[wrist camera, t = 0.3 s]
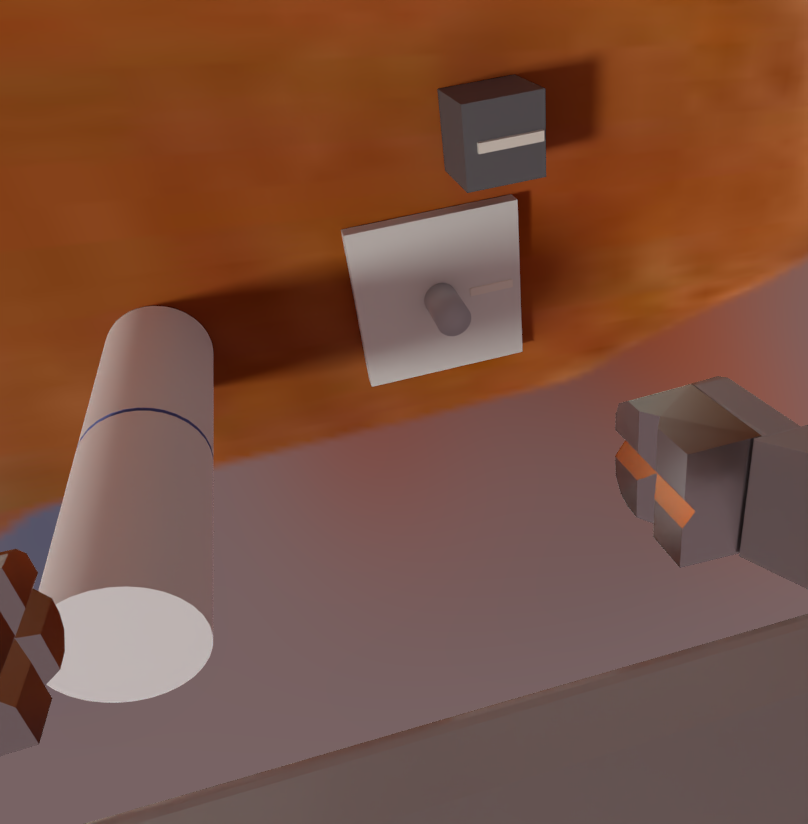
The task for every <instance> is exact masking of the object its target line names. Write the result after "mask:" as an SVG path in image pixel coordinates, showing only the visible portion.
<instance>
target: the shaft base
mask: <svg viewBox="0 0 808 824" xmlns="http://www.w3.org/2000/svg"><path fill="white" fill-rule="evenodd" d="M341 233H342V238H343V244H344V249H345V254H346V259H347V265H348V270H349V275H350V281H351V286H352V291H353V297H354V302H355V307H356V312H357V318H358V323H359V328H360V334H361V339H362V344H363V349H364V355H365V360H366V365H367V371H368V376H369V380H370V383H371V386H372V387H373V386H378V385H382V384H386V383H390V382H395V381H399V380H403V379H407V378H412V377H416V376H420V375H425V374H429V373H433V372H437V371H442V370H446V369H450V368H454V367H459V366H463V365H467V364H472V363H476V362H480V361H484V360H489V359H493V358H497V357H501V356H506V355H510V354H514V353H519V352H522V322H521V291H520V260H519V229H518V200H517V199H516V198H515V197H514V196H513V195H512V194H510V195H506V196H501V197H496V198H491V199H486V200H482V201H477V202H472V203H467V204H462V205H458V206H453V207H448V208H443V209H438V210H434V211H429V212H424V213H419V214H414V215H410V216H405V217H400V218H395V219H390V220H386V221H381V222H376V223H371V224H366V225H361V226H357V227H352V228H347V229H342V230H341Z"/></svg>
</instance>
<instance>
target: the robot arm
mask: <svg viewBox="0 0 808 824" xmlns="http://www.w3.org/2000/svg"><path fill="white" fill-rule="evenodd" d="M615 429H616V431H617V432H618V433H619V434H620V435H621V436H622V437H623V438H624V439H625V442H624V443H623V445H622V446H621V448H620V450H619V451H618V452H617V454H616V456H615V465H616V478H617V482H618V485H619V489H620V492H621V494H622V497H623V499H624V500H625V502H626V504H627V506H628V507H629V509H630V510H631V511H632V512H633V513H634V515H635V516H636V517H638V518H640V519H643V520H645V521H648V522H651V523H653V524H654V530H653V537H654V538H655V540H656V541H657V542H658V543H659V544H660V545H661V547H662V548H663V549H664V550H665V551H666V552H667V553H668V555H669V556H670V557H671V558H672V559H673V560H674V562H675V563H676V564H677V565H678V566H679V567H680V568H681V567H685V566H689V565H694V564H697V563H702V562H706V561H710V560H713V559H718V558H722V557H726V556H730V555H734V554H738V553H740V554H739V556H740V557H742V558H744V559H746V560H748V561H750V562H752V563H755V564H757V565H759V566H761V567H763V568H765V569H767V570H769V571H771V572H773V573H775V574H777V575H779V576H781V577H783V578H786V579H788V580H790V581H792V582H794V583H796V584H798V585H800V586H802V587H804V588H806V589H808V425H806V426H802V427H801V426H799V425H798V424H796V423H795V422H793V421H792V420H790V419H789V418H787V417H786V416H784V415H783V414H781V413H780V412H778V411H776V410H775V409H774V408H772V407H771V406H769V405H768V404H766V403H765V402H763V401H762V400H760V399H758V398H757V397H756V396H754V395H753V394H751V393H750V392H748V391H747V390H745V389H744V388H742V387H741V386H739V385H738V384H736V383H735V382H733V381H732V380H730V379H729V378H726V377H719V376H717V377H713V378H710V379H706V380H703V381H699V382H695V383H692V384H688V385H685V386H683V387H679V388H675V389H671V390H668V391H664V392H660V393H657V394H653V395H649V396H646V397H641V398H638V399H634V400H630V401H626V402H623V403H619V405H618V408H617V412H616V425H615ZM37 574H38V572H37V570H36V569H35V567H34V565H33V563H32V562H31V560H30V558H29V557H28V555H27V553H25V552H22V551H20V550H18V549H13V550H9V551H5V552H0V756H2V755H5V754H9V753H12V752H15V751H18V750H22V749H25V748H28V747H32V746H35V745H38V744H39V743H40V739H41V736H42V732H43V729H44V725H45V722H46V718H47V715H48V711H49V708H50V704H51V701H52V697H51V695H50V694H49V692H48V690H47V689H46V687H45V685H46V684H47V683H48V682H49V681H50V680H51V679H52V678H53V677H54V676H55V675H56V674H57V673H58V671H59V670H60V669H61V665H62V661H63V657H64V653H65V637H64V627H63V623H62V620H61V616H60V613H59V611H58V609H57V607H56V605H55V603H54V601H53V599H52V598H51V597H49V596H47V595H45V594H43V593H41V592H39V591H37V590H35V589H33V586H34V583H35V580H36V577H37ZM85 824H808V614H805V615H802V616H798V617H795V618H792V619H788V620H785V621H782V622H778V623H775V624H771V625H768V626H764V627H761V628H758V629H754V630H751V631H747V632H744V633H741V634H737V635H734V636H730V637H727V638H723V639H720V640H716V641H713V642H709V643H706V644H702V645H699V646H696V647H692V648H688V649H685V650H681V651H678V652H675V653H671V654H668V655H664V656H661V657H657V658H654V659H650V660H647V661H643V662H640V663H636V664H633V665H629V666H626V667H622V668H619V669H616V670H612V671H609V672H606V673H602V674H599V675H595V676H591V677H588V678H584V679H581V680H577V681H574V682H570V683H567V684H563V685H560V686H557V687H553V688H550V689H546V690H543V691H539V692H536V693H533V694H529V695H525V696H522V697H518V698H515V699H511V700H508V701H505V702H501V703H498V704H494V705H491V706H487V707H484V708H480V709H477V710H474V711H470V712H467V713H463V714H460V715H456V716H453V717H450V718H446V719H443V720H439V721H436V722H432V723H429V724H426V725H422V726H419V727H415V728H412V729H408V730H405V731H401V732H398V733H395V734H391V735H388V736H384V737H381V738H378V739H374V740H371V741H367V742H364V743H360V744H357V745H354V746H350V747H347V748H343V749H340V750H336V751H333V752H329V753H326V754H323V755H319V756H316V757H312V758H309V759H306V760H302V761H299V762H295V763H292V764H288V765H285V766H281V767H278V768H275V769H271V770H268V771H264V772H261V773H257V774H254V775H251V776H248V777H244V778H241V779H237V780H233V781H230V782H227V783H223V784H220V785H216V786H213V787H210V788H206V789H202V790H199V791H196V792H192V793H189V794H185V795H182V796H178V797H175V798H171V799H168V800H165V801H161V802H158V803H154V804H151V805H147V806H144V807H141V808H137V809H134V810H131V811H127V812H123V813H120V814H116V815H113V816H110V817H106V818H103V819H99V820H96V821H92V822H89V823H85Z"/></svg>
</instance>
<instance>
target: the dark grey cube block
mask: <svg viewBox="0 0 808 824" xmlns="http://www.w3.org/2000/svg"><path fill="white" fill-rule="evenodd" d="M438 99H439V110H440V120H441V131H442V142H443V153H444V164H445V171H446V172H447V173H448V174H449V175H450V176H451V177H452V178H453V179H454V180H455V181H456V182H457V183H458V184H459V185H460V186H461V187H462V188H463V189H464V190H465V191H466V192H467V193H469V192H474V191H479V190H484V189H489V188H493V187H498V186H503V185H508V184H513V183H518V182H522V181H527V180H532V179H537V178H542V177H546V108H545V88H543V87H541V86H539V85H537V84H534V83H532V82H530V81H528V80H526V79H523V78H521V77H519V76H517V75H515V74H514V75H509V76H504V77H498V78H493V79H488V80H483V81H477V82H472V83H467V84H461V85H456V86H451V87H445V88H440V89H438Z"/></svg>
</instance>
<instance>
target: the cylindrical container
mask: <svg viewBox="0 0 808 824" xmlns="http://www.w3.org/2000/svg"><path fill="white" fill-rule="evenodd" d="M39 592H41V593H43V594H45V595H47V596H49V597H51V598H52V599H53V601H54V603H55V605H56V607H57V609H58V611H59V613H60V616H61V620H62V623H63V627H64V637H65V653H64V657H63V661H62V665H61V669H60V670H59V671H58V673H57V674H56V675H55V676H54V677H53V678H52V679H51V680H50V681H49V682H48V683H47V684H46V685H48V686H49V687H51V688H53V689H54V690H56V691H58V692H61V693H63V694H66V695H68V696H71V697H75V698H79V699H82V700H87V701H95V702H108V703H117V702H118V703H120V702H130V701H137V700H143V699H147V698H152V697H155V696H158V695H161V694H164V693H167V692H169V691H171V690H173V689H175V688H177V687H179V686H181V685H183V684H184V683H185V682H187V681H188V680H190V679H191V678H193V677H194V676H195V675H196V674H197V673H198V672H199V671H200V670H201V669H202V668H203V667H204V665H205V663H206V662H207V660H208V659H209V657H210V654H211V651H212V647H213V346H212V342H211V339H210V337H209V335H208V333H207V332H206V330H205V329H204V327H203V326H202V325H201V324H200V323H199V322H198V321H197V320H195V319H194V318H193V317H191V316H190V315H188V314H186V313H185V312H182V311H180V310H177V309H175V308H170V307H165V306H147V307H142V308H138V309H135V310H132V311H130V312H128V313H127V314H125V315H123V316H122V317H121V318H120V319H118V320H117V321H116V322H115V323H114V325H113V326H112V328H111V329H110V331H109V333H108V336H107V338H106V342H105V345H104V349H103V353H102V356H101V360H100V364H99V368H98V371H97V375H96V379H95V383H94V386H93V390H92V394H91V397H90V401H89V405H88V409H87V412H86V416H85V420H84V423H83V427H82V431H81V435H80V438H79V442H78V446H77V450H76V453H75V457H74V461H73V464H72V468H71V472H70V476H69V479H68V483H67V487H66V490H65V494H64V498H63V502H62V505H61V509H60V513H59V517H58V520H57V524H56V528H55V531H54V535H53V539H52V543H51V547H50V550H49V554H48V558H47V561H46V565H45V569H44V572H43V576H42V580H41V583H40V587H39Z"/></svg>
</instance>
